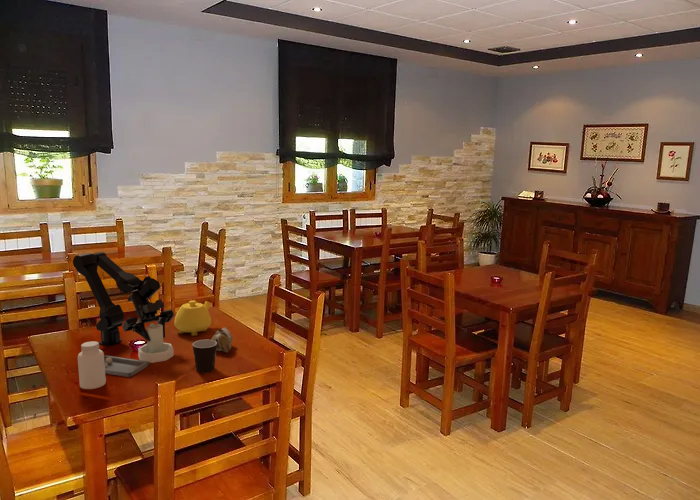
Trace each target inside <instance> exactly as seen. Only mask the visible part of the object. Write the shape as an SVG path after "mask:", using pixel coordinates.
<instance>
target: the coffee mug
mask: <svg viewBox="0 0 700 500" xmlns="http://www.w3.org/2000/svg"><path fill="white" fill-rule="evenodd" d="M191 345H192V350H193V351H192V352H193V357H194V363H195V370H196V372H197V373H200V374H208V373H211V372H213V371H214V370H215V364H216V355H217V351H216V348H217V342H216V341H214V340H211V339H208V338H207V339H199V340H196V341H194V342H192V344H191Z"/></svg>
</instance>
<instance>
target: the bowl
mask: <svg viewBox="0 0 700 500" xmlns="http://www.w3.org/2000/svg"><path fill="white" fill-rule="evenodd" d="M137 353H138V354H137V355H138V360H141V361H148V362H149V364H151V363H152V364H154V363H159V362H165V361H168V360H170V359H171V358H172V357H174V353H175V352H174V346H173V345H172V344H171V343H168V342H163V352H160V353H153V354H152V353H148V343H145V344H144V345H142V346H140V347H138V348H137Z"/></svg>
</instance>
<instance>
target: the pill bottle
mask: <svg viewBox="0 0 700 500" xmlns="http://www.w3.org/2000/svg"><path fill="white" fill-rule="evenodd" d="M80 347H81V348H80V350H81V352H79V353H78V355H77V366H78V367H77V368H78V369H77V370H78V379H79V380H78V381H79V387H80V388H81V389H83V390H93V389H98V388H101V387H103V386H104V385H106V382H107V377H106V373H105V363H104V355H105V354H104V351H103V350H101V349H100V344H99V342H98V341H96V340H95V341H94V340H93V341H86V342H83V343H82V344H80Z"/></svg>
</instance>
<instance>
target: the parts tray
mask: <svg viewBox="0 0 700 500" xmlns="http://www.w3.org/2000/svg"><path fill="white" fill-rule="evenodd" d="M104 363H105V375H106V374H108V375H113V376H119V377H125V378H131V377H132V376H134V375H136V374H137V373H139V372H141V371H142V370H144V369H145V368H148V367H149V366H150V362H148V361H141V360H140V359H134V358H127V357H119V356H113V355H107V354H106V355H105V354H104Z"/></svg>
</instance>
